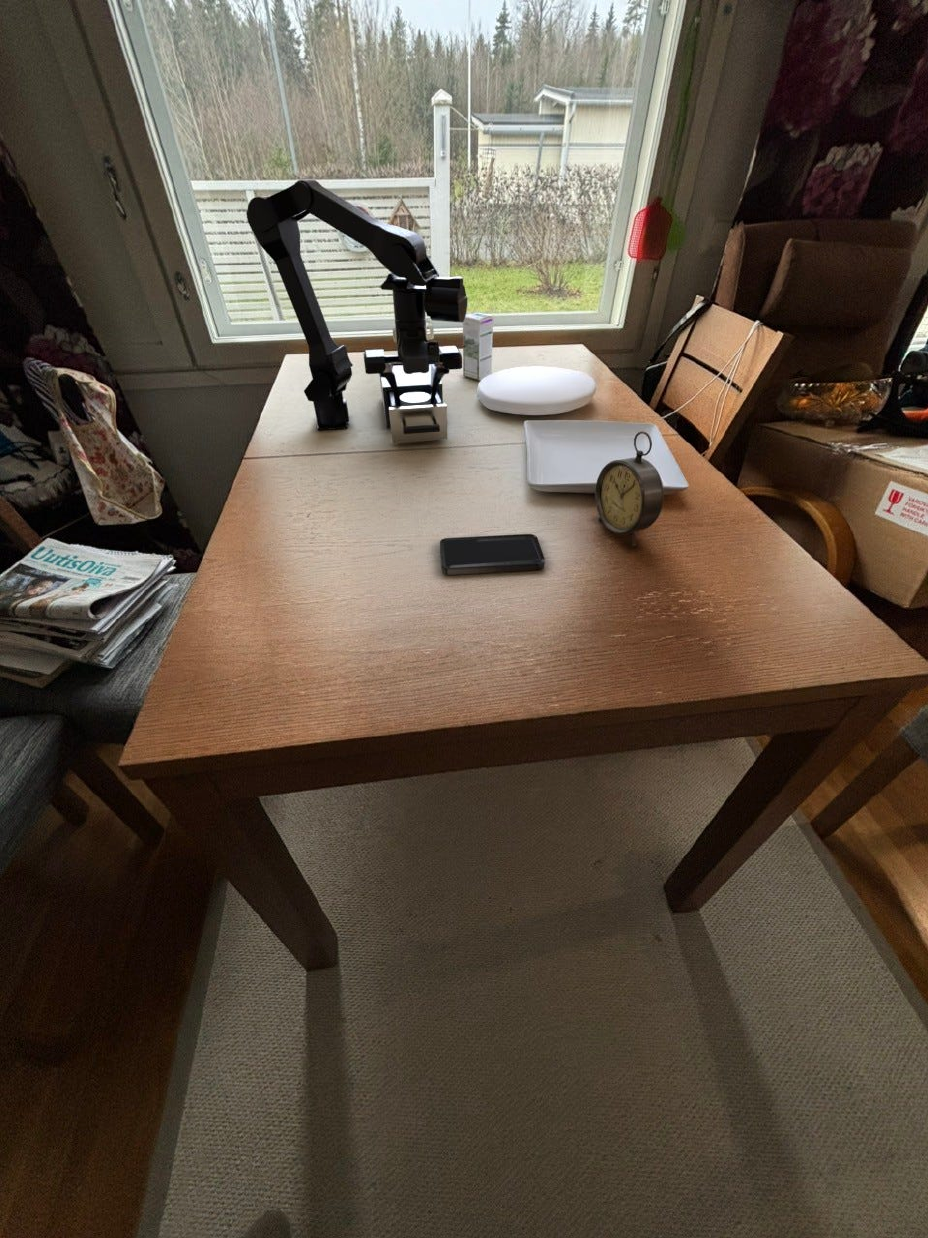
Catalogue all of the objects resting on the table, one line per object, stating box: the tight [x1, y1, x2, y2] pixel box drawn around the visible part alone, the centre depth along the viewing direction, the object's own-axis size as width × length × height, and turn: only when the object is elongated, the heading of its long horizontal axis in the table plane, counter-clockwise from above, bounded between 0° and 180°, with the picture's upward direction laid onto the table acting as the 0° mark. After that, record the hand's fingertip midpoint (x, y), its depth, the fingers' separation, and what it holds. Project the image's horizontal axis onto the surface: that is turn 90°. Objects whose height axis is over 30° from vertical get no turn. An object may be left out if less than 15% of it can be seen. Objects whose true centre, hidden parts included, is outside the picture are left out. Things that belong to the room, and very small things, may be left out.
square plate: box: [523, 419, 690, 496], centre depth 95 cm, size 27×27×4 cm
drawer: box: [388, 388, 449, 444], centre depth 105 cm, size 20×11×7 cm, turn 10°
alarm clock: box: [594, 431, 665, 549], centre depth 75 cm, size 11×5×16 cm, turn 24°
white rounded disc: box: [476, 365, 597, 416], centre depth 120 cm, size 28×6×27 cm
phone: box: [439, 533, 546, 576], centre depth 75 cm, size 8×1×15 cm
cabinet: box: [379, 364, 444, 429], centre depth 114 cm, size 17×13×9 cm
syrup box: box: [462, 312, 494, 382], centre depth 130 cm, size 6×6×14 cm
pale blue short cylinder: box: [400, 392, 431, 407], centre depth 103 cm, size 6×6×3 cm
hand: (415, 404), depth 103 cm, fingers closed on pale blue short cylinder, 6 cm apart
